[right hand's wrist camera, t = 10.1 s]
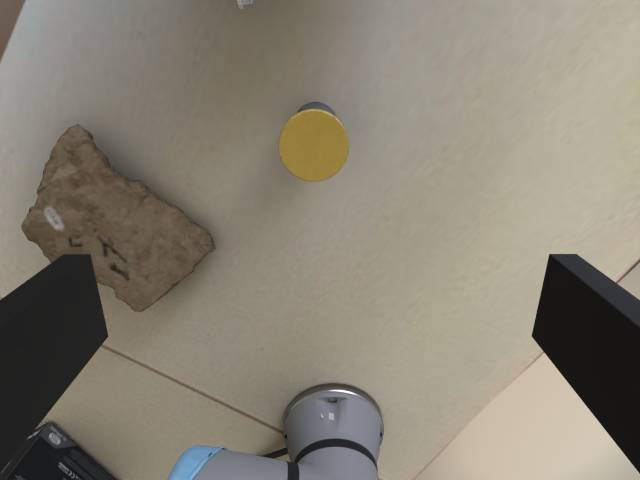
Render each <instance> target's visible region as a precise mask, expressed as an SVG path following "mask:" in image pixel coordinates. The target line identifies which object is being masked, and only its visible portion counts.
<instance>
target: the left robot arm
mask: <svg viewBox="0 0 640 480" xmlns="http://www.w3.org/2000/svg"><path fill="white" fill-rule="evenodd" d="M237 4H238V7H239V9H247V8H253V7H256V4H255V0H237Z"/></svg>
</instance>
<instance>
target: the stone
mask: <svg viewBox="0 0 640 480" xmlns="http://www.w3.org/2000/svg"><path fill="white" fill-rule="evenodd" d="M37 194H38V198H37V201H36V204H35V206H34V207H31V208H30V209H29V213H28V215H27V217H26V218H25V220H24V221H23V223H22V226H21V227H22V230H23V232H24V234H25V235H26V237H27V239H28V240H29V241H33V242H35V243H36V244H38V246H39V247H40V248H41V249H42V251H43V254H44V256H46V257H47V258H48V259H49V260H50V262H51V263H52V262H54V261H55V260H56V259H58V258H59V257H60V256H62V255H63V254H91V259H92V263H93V268H94V273H95V277H96V282H97V283H100V284H102V285H106V286H110V287H112V288H113V289H114V291H115V292H116V298H117V299H120V300H122V301H124V302H126V303H127V304H128V305H129V306H130V307H131V308H132V310H134V311H137V312H142V311H144V310H145V309H146V308H148V307H150V306H151V305H152V304H154V303H155V302H157V301H158V300H159V299H160V298H162V297H163V296H164V295H165V294H167V293H168V292H169V291H170V290H171V289H172V288H173V287H174V286H175V285H177V284H178V283H179V282H180V280H182V279H183V278H184V277H186V276H187V275H189V274H190V273H192V272H193V271H194V269H195V266H196V265H197V264H198V263H199V262H200V261H201V260H202V258H203V257H204V256H205V255H206V254H207V253H208V252H211V251H213V250H214V249H215V245H214V243H213V238H212V237H211V236H210V234H209V233H208V232H207V231H206V230H205V229H204V228H202V227H200V226H199V225H197V224H195V223H192V222H191V221H190V219H189V218H188V217H187V216H186V215H185V213H184V212H183V211H182V210H180V209H178V208H175V207H173V206H171V205H169V204H167V203H165V202H164V201H161V200H160V198H159V197H158V196H157V195H156V194H154V193H152V192H151V191H150V190H149V189H148V188H147V187H146V186H145V185H144V183H142V182H141V181H139V180H137V181H134V182H133V181H129V179H128V178H127V177H126V176H124V175H121V174H120V173H119V172H118V171H116V170H115V168H114V167H113V166H111V165H109V162H108V158H107V157H106V156H105V154H104V153H103V152H102V151H100V150H99V149H98V148H97V147H96V145H95V143H94V141H93V136H92V134H91V133H90V132H89V131H87V130H85V129H83V128H82V127H81V126H80V125H78V124H77V125H75V126H73V127H70V128H68V129H67V131H66V132H65V133H64V134H63V135H62V136H61V137H60V138H59V140H58V142H57V143H56V145H55V146H54V148H53V150H52V152H51V155H50V159H49V160H48V162H47V163H46V164H45V168H44V170H43V178H42V180H41V183H40V186H39V188H38V190H37Z"/></svg>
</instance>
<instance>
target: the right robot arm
mask: <svg viewBox="0 0 640 480" xmlns="http://www.w3.org/2000/svg"><path fill="white" fill-rule="evenodd" d="M107 337H108V333H107V328H106V323H105V319H104V314H103V310H102V305H101V300H100V296H99V291H98V286H97V282H96V277H95V273H94V268H93V263H92V259H91V254H63V255H62V256H60V257H59V258H58V259H56V260H55V261H54V262H52V263H51V264H49V265H48V266H47V267H45V268H44V269H43V270H41V271H40V272H38V273H37V274H36V275H34V276H33V277H32V278H30V279H29V280H27V281H26V282H25V283H23V284H22V285H21V286H19V287H18V288H17V289H15V290H14V291H12V292H11V293H10V294H8V295H7V296H6V297H4V298H3V299H1V300H0V473H1V472H2V471H3V469H4V468H5V467H6V465H7V464H8V463H9V462H10V460H11V459H12V458H13V457H14V455H15V454H16V453H17V451H18V450H19V449H20V448H21V446H22V445H23V444H24V443H25V441H26V440H27V439H28V437H29V436H30V435H31V434H32V432H33V431H34V430H35V429H36V427H37V426H38V425H39V424H40V422H41V421H42V420H43V418H44V417H45V416H46V415H47V413H48V412H49V411H50V410H51V408H52V407H53V406H54V404H55V403H56V402H57V401H58V399H59V398H60V397H61V396H62V394H63V393H64V392H65V390H66V389H67V388H68V387H69V385H70V384H71V383H72V382H73V380H74V379H75V378H76V377H77V375H78V374H79V373H80V371H81V370H82V369H83V368H84V366H85V365H86V364H87V363H88V361H89V360H90V359H91V357H92V356H93V355H94V354H95V352H96V351H97V350H98V349H99V347H100V346H101V345H102V343H103V342H104V341H105V340H106V338H107ZM532 337H533V338H534V340H535V341H536V342H537V343H538V345H539V346H540V347H541V349H542V350H543V351H544V352H545V354H546V355H547V356H548V357H549V359H550V360H551V361H552V363H553V364H554V365H555V366H556V368H557V369H558V370H559V371H560V373H561V374H562V375H563V376H564V378H565V379H566V380H567V382H568V383H569V384H570V385H571V387H572V388H573V389H574V390H575V392H576V393H577V394H578V396H579V397H580V398H581V399H582V401H583V402H584V403H585V404H586V406H587V407H588V408H589V410H590V411H591V412H592V413H593V415H594V416H595V417H596V418H597V420H598V421H599V422H600V423H601V425H602V426H603V427H604V429H605V430H606V431H607V432H608V434H609V435H610V436H611V437H612V439H613V440H614V441H615V442H616V444H617V445H618V446H619V448H620V449H621V450H622V451H623V453H624V454H625V455H626V456H627V458H628V459H629V460H630V462H631V463H632V464H633V465H634V467H635V468H636V469H637V470H638V472H639V473H640V300H639V299H637V298H636V297H634V296H633V295H632V294H630V293H629V292H628V291H626V290H625V289H623V288H622V287H621V286H619V285H618V284H617V283H615V282H614V281H613V280H611V279H610V278H608V277H607V276H606V275H604V274H603V273H602V272H600V271H599V270H597V269H596V268H595V267H593V266H592V265H591V264H589V263H588V262H586V261H585V260H584V259H582V258H581V257H580V256H578V255H577V254H549V259H548V263H547V268H546V273H545V277H544V282H543V287H542V291H541V296H540V300H539V305H538V310H537V314H536V319H535V324H534V328H533V333H532ZM383 434H384V426H383V420H382V415H381V411H380V409H379V407H378V405H377V403H376V402H375V401H374V400H373V399H372V398H371V397H370V396H369V395H368V394H367V393H365V392H363V391H362V390H360V389H358V388H355V387H352V386H349V385H344V384H323V385H318V386H315V387H312V388H309V389H307V390H305V391H303V392H302V393H300V394H299V395H298V396H296V397H295V398H294V399H293V400H292V402H291V403H290V404H289V406H288V408H287V409H286V412H285V416H284V423H283V437H284V441H285V443H286V446H287V447H286V448H284V449H281V450H278V451H275V452H272V453H269V454H266V455H263V456H256V455H251V454H246V453H240V452H235V451H230V450H227V448H225V447H218V448H214V447H207V446H194V447H192V448H190V449H188V450H186V451H185V452H184V453H183V454H182V455H181V457H180V458H179V460H178V461H177V463H176V464H175V466H174V468H173V470H172V471H171V473H170V475H169V477H168V479H167V480H379V477H378V470H377V460H378V456H379V451H380V445H381V442H382V439H383ZM288 453H289V457H290V460H291V462H288V461H283V460H278V459H274V458H277V457H280V456H283V455H285V454H288Z"/></svg>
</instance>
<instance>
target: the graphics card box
mask: <svg viewBox="0 0 640 480" xmlns="http://www.w3.org/2000/svg"><path fill="white" fill-rule="evenodd" d="M0 480H116V479H115V478H113V477H112V476H111V475H110V474H109V473H108V472H107V471H105V469H103V468H102V467H101V466H100V465H99V464H98V463H97V462H95V461H94V460H93V459H92V458H91V457H90V456H89V455H88V454H86V453H85V452H84V451H83V450H82V449H81V448H80V447H79V446H77V444H76V443H74V442H73V441H72V440H71V439H70V438H69V437H67V435H65V434H64V433H63V432H62V431H61V430H60V429H59V428H57V426H55V425H54V424H53V423H51V422H48V423H46V424H44V425H43V426H41V427H40V428H38V429H36V430H35V431H33V432H32V434H31V435H30V436H29V437H28V439H27V440H26V441H25V443H24V444H23V445H22V446H21V448H20V449H19V450H18V451H17V453H16V454H15V455H14V457H13V458H12V459H11V460H10V462H9V463H8V464H7V465H6V467H5V468H4V469H3V471H2V472H1V473H0Z"/></svg>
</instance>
